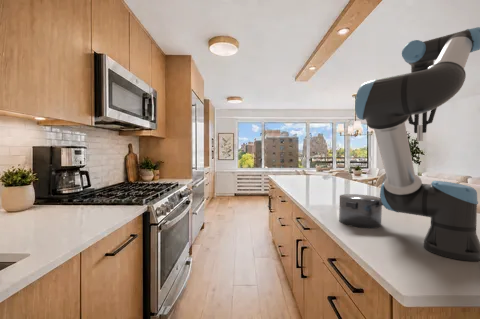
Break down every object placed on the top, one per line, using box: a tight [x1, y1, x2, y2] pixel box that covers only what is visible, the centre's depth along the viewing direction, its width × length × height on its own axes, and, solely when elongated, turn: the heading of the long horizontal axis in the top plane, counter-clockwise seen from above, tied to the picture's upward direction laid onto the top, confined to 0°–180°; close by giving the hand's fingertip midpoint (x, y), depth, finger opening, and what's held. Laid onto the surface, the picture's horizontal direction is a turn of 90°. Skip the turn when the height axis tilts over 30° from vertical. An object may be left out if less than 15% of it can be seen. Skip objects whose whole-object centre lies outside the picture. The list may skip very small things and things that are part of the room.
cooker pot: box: [338, 193, 384, 229], centre depth 116 cm, size 24×20×12 cm
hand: (419, 140), depth 102 cm, fingers closed
